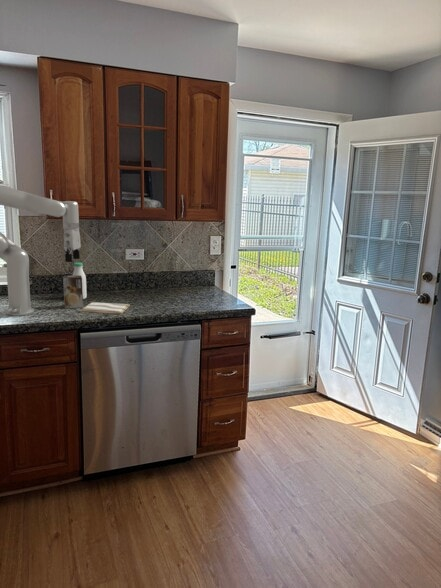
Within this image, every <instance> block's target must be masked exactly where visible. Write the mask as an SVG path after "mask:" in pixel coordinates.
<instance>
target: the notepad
mask: <svg viewBox="0 0 441 588" xmlns="http://www.w3.org/2000/svg"><path fill="white" fill-rule="evenodd" d="M129 307H131V304H128V303H126V304H125V303H117V302H116V303H113V302H98V301H97V302H96V301H91V302H90V303H88V304H87V305H86V306H83V307H82V308H81V309H80V310H79V312H81V313H95V314H97V313H98V314H112V315H122V314H123V313H124V312H125V311H126V310H127V309H128V308H129Z"/></svg>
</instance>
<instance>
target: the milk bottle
mask: <svg viewBox="0 0 441 588" xmlns="http://www.w3.org/2000/svg"><path fill="white" fill-rule="evenodd" d="M83 267H84V264H83V263H82V262H73V268H74V270H73V273H72V275H71V276H77V275H81V277H82V291H83V300H85V299H87V278H86V277H87V275H86V273H85V272H84V270H83Z"/></svg>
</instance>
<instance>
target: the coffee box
mask: <svg viewBox="0 0 441 588" xmlns="http://www.w3.org/2000/svg"><path fill="white" fill-rule="evenodd" d="M62 281H63V283H62V284H63V300H64V309H78V308H81V309H83V308H84V299H83V291H82V277H81V275H77V276H72V275H63V276H62Z"/></svg>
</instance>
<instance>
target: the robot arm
mask: <svg viewBox="0 0 441 588" xmlns="http://www.w3.org/2000/svg"><path fill="white" fill-rule="evenodd" d="M0 206H4V207H8V208H13V209H15V210H20V211H25V212H33V213H39V214H42V215H47V216H51V217H55V218H60V217H62V230H64V232H63V233H64V235H63V244H64V245H63V251H64V258H65V262H66V263H72V262H73V260H80V258H81V257H80V256H81V255H80V249H81V247H82V244H81V233H80V218H79V217H80V216H79V214H80V213H79V212H80V211H79V204H78V202H77V201H74V200H72V201H71V200H65V201H60V200H55V199H52V198H48V197H44V196H40V195H36V194H34V193H30V192H27V191H23V190H19V189H16V188H12V187H7V186H4V185H0ZM0 259H1V260H2V261H3V262H5V263H6V283H7V296H8V308H7V309H5V311H4V313H5V314H6V315H7V316H17V317H18V316H21V317H22V316H27V315H31V314H33V313H35V308H33V307H31V306H32V305H31V290H30V288H31V287H30V286H31V285H30V273H29V272H30V258H29V254H28V253H27V251H26V250H25V249H24V248H22V247H20V246H18V245H17V244H16V243H14V242H13V241H12V240H10V239H9V238H8V237H7V236H6V235H5V234H4V233H2V232H0Z"/></svg>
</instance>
